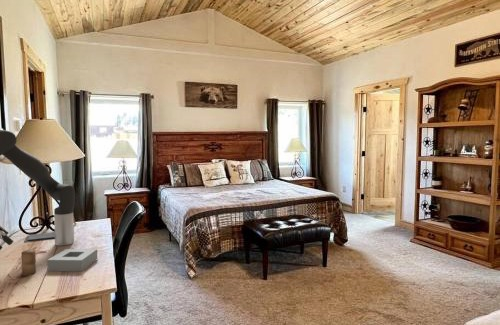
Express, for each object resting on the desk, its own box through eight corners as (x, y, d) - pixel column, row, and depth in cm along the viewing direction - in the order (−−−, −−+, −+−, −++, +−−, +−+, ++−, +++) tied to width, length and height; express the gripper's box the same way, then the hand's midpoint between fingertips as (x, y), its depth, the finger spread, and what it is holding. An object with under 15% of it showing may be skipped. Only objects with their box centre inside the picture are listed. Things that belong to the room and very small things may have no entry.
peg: (27, 270, 143) (26, 249, 143) (38, 271, 143) (38, 249, 143) (19, 275, 138) (18, 253, 138) (31, 275, 138) (30, 253, 138)
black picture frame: (23, 240, 183) (27, 233, 196) (23, 243, 183) (27, 236, 197) (64, 236, 192) (65, 230, 206) (64, 239, 192) (65, 233, 206)
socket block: (66, 259, 158) (66, 248, 158) (97, 259, 159) (97, 249, 158) (47, 271, 143) (47, 259, 143) (81, 271, 144) (81, 260, 143)
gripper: (-30, 218, 129) (3, 245, 132) (-9, 210, 143) (21, 235, 146) (-45, 231, 129) (-11, 258, 131) (-22, 223, 143) (8, 247, 145)
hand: (6, 246), depth 139 cm, fingers open, 8 cm apart
